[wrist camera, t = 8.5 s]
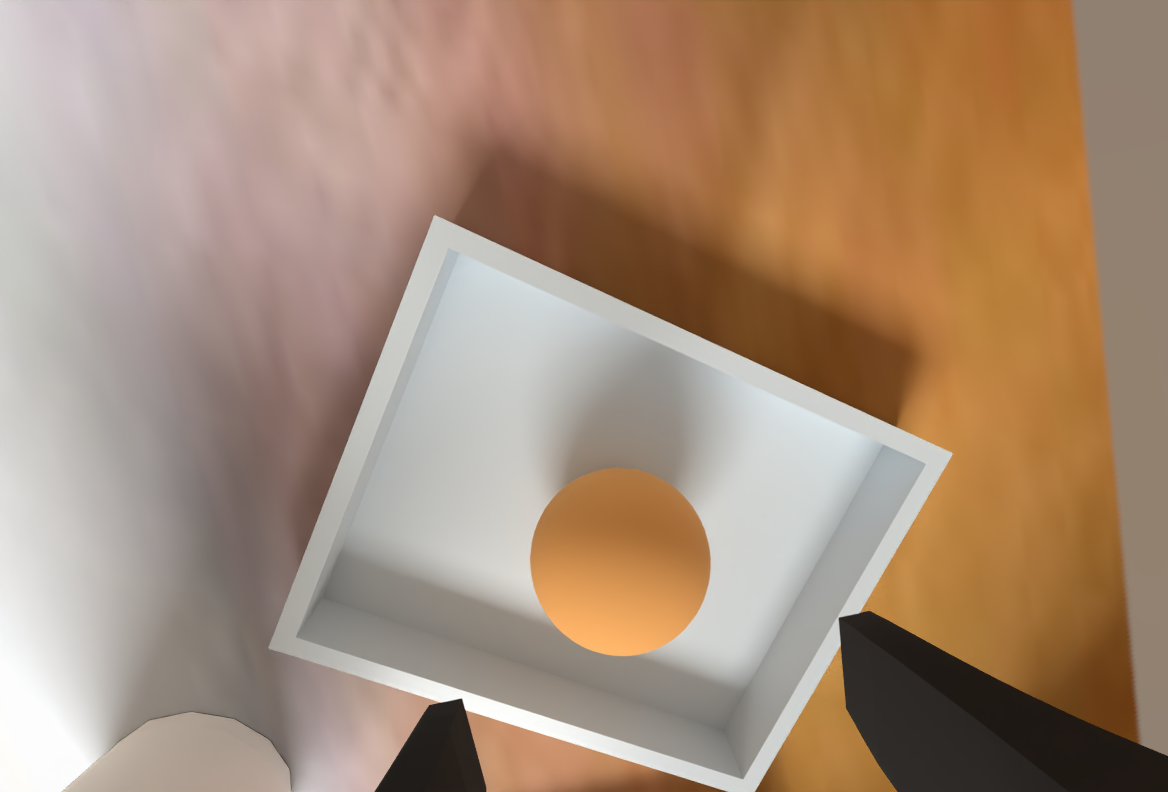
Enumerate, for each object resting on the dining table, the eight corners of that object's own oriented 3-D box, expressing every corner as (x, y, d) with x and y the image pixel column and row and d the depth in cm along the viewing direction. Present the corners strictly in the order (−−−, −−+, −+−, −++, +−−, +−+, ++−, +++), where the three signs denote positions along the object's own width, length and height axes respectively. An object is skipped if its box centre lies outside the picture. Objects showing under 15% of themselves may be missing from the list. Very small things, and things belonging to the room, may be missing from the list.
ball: (708, 480, 18) (775, 554, 13) (642, 609, 19) (683, 725, 14) (568, 422, 17) (584, 478, 12) (505, 560, 18) (496, 664, 13)
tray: (896, 429, 19) (953, 453, 16) (724, 734, 21) (750, 798, 18) (450, 224, 16) (434, 215, 14) (306, 596, 18) (268, 648, 16)
